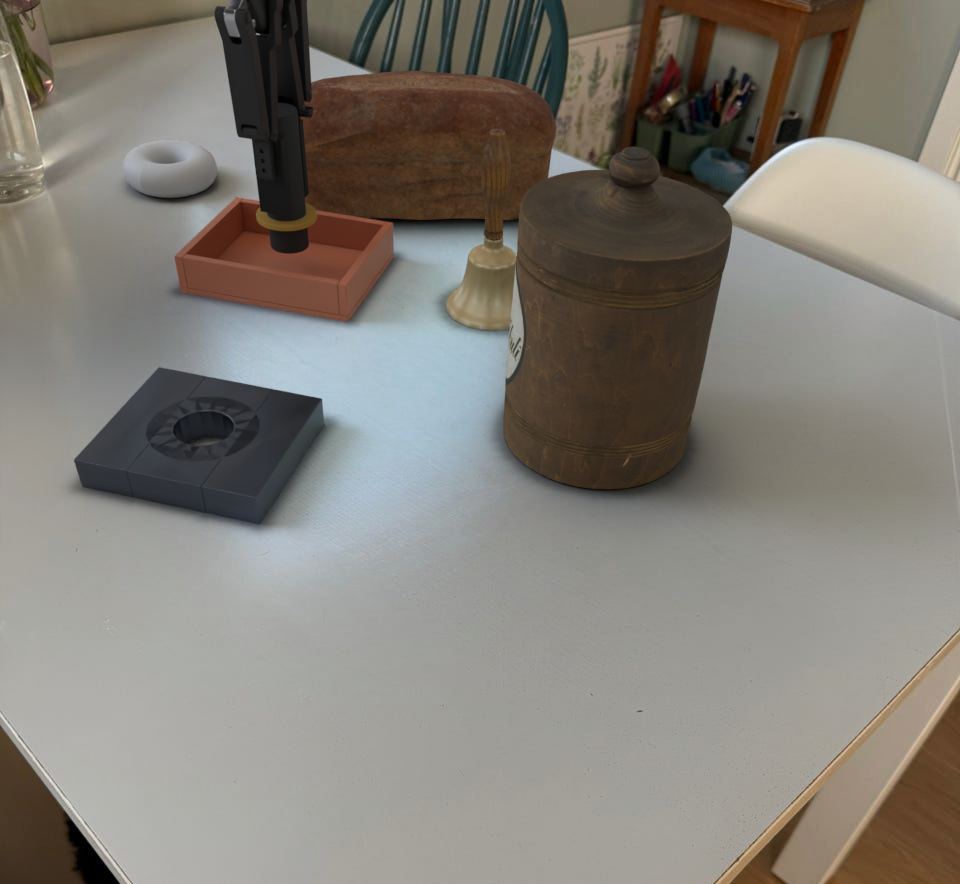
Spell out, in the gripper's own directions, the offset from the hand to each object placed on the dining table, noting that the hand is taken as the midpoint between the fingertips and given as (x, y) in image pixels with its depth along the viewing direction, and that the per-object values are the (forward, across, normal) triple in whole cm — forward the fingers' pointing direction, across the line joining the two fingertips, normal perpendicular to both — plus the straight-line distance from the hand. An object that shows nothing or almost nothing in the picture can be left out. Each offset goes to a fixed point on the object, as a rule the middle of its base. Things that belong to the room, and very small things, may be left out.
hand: (285, 202), depth 90 cm
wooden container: (+7, -17, -33) cm, 38 cm away
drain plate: (+7, -29, -5) cm, 30 cm away
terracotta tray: (+7, 0, 0) cm, 7 cm away
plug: (+4, 0, 0) cm, 4 cm away
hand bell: (+7, 0, -20) cm, 21 cm away
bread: (+7, +20, -7) cm, 22 cm away
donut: (+7, +15, +20) cm, 26 cm away
